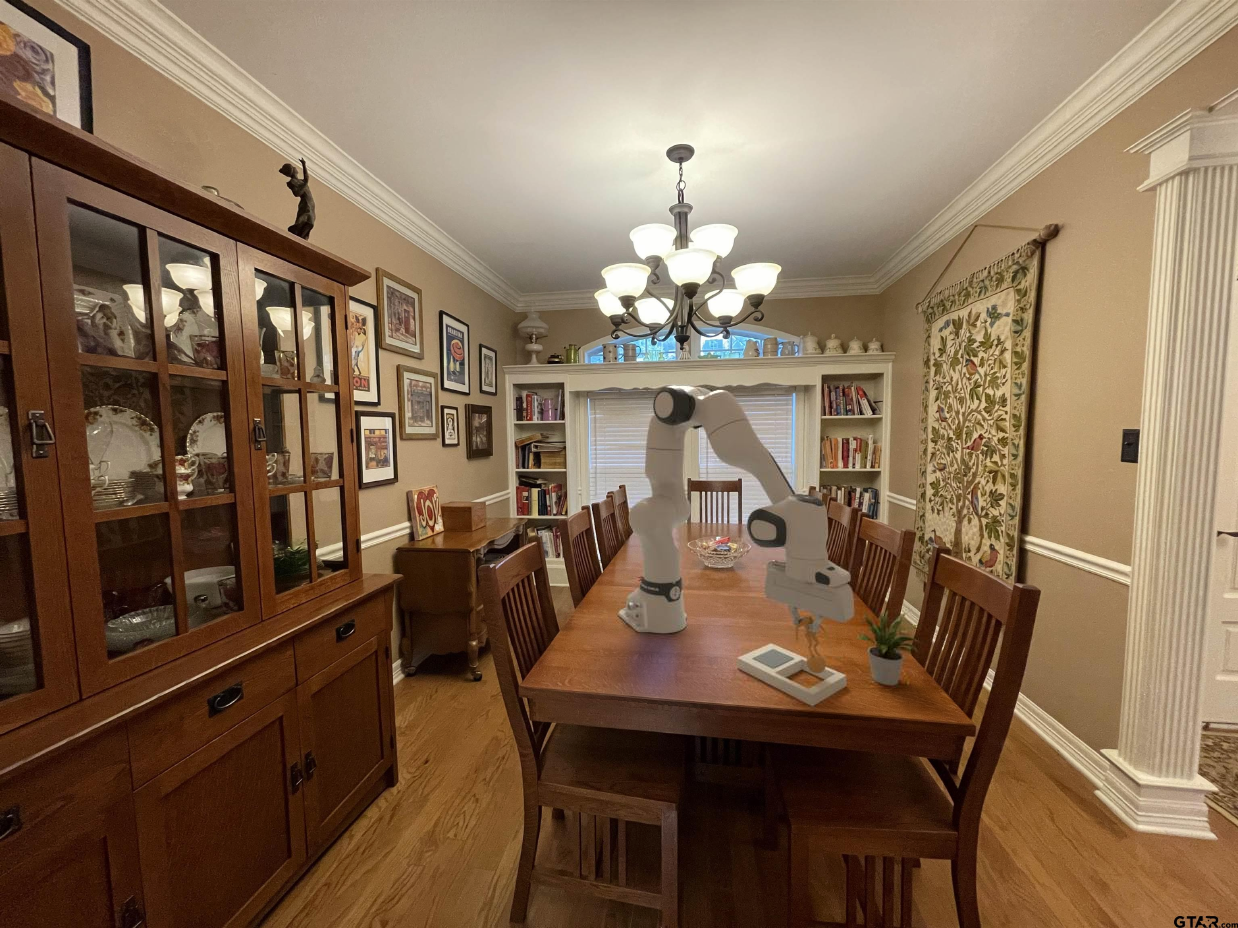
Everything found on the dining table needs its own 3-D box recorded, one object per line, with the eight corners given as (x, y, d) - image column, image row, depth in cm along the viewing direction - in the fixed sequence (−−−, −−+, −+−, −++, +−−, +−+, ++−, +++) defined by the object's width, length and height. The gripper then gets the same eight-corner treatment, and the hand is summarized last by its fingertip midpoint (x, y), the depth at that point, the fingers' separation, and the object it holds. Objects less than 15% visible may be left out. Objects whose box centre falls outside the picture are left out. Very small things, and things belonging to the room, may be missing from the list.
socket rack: (737, 667, 114) (737, 656, 113) (771, 652, 121) (771, 642, 121) (812, 706, 97) (812, 693, 97) (846, 686, 105) (846, 674, 104)
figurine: (806, 680, 100) (806, 625, 99) (788, 666, 106) (788, 615, 105) (837, 672, 103) (838, 619, 102) (818, 660, 108) (818, 610, 108)
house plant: (854, 692, 102) (855, 619, 101) (839, 662, 115) (840, 597, 114) (927, 700, 99) (929, 625, 98) (903, 668, 112) (905, 601, 111)
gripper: (758, 560, 111) (758, 617, 112) (842, 581, 94) (841, 648, 95) (775, 556, 114) (775, 611, 115) (858, 575, 98) (857, 640, 99)
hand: (805, 628), depth 105 cm, fingers closed on figurine, 3 cm apart
